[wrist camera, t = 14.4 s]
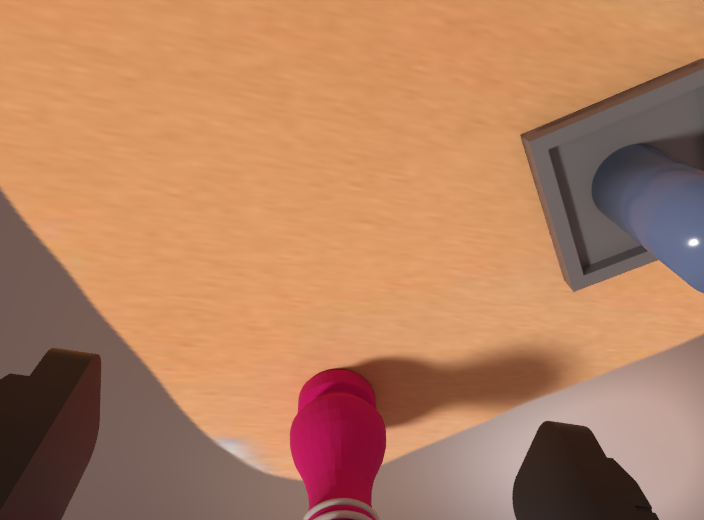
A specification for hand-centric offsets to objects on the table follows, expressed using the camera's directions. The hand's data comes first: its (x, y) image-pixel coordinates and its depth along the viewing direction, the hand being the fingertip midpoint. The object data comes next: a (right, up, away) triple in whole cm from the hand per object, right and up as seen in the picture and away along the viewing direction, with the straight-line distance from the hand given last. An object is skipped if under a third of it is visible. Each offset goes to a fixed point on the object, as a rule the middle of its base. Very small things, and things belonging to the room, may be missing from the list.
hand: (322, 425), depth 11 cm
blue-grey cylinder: (+20, +8, +29) cm, 36 cm away
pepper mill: (-1, -8, +37) cm, 38 cm away
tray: (+20, +9, +30) cm, 37 cm away
